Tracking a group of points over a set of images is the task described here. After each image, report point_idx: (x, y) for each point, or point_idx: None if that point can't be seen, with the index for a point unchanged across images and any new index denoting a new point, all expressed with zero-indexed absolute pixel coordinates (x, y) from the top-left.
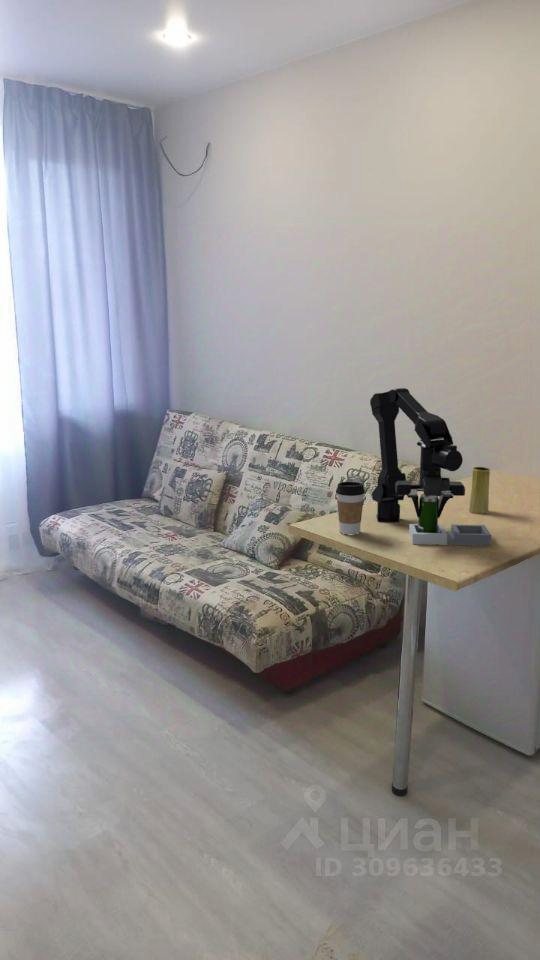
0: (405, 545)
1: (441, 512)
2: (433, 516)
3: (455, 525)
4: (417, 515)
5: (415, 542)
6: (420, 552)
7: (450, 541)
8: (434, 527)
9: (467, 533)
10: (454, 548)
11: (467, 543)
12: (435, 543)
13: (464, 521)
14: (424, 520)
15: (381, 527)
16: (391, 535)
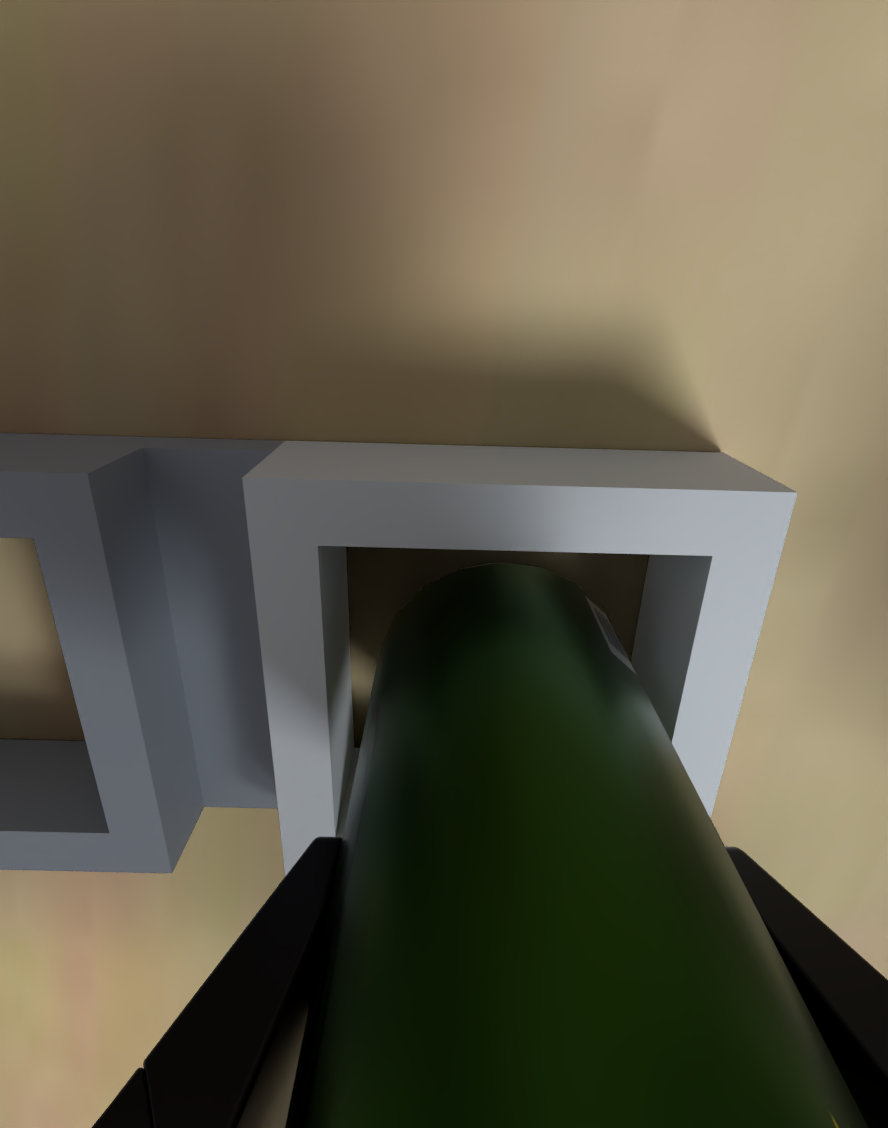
0: (831, 402)
1: (245, 931)
2: (458, 780)
3: (119, 843)
4: (768, 876)
5: (695, 457)
6: (721, 64)
7: (224, 448)
8: (427, 649)
9: (24, 758)
10: (190, 289)
11: (5, 437)
12: (430, 445)
13: (90, 1057)
14: (634, 724)
15: (863, 933)
16: (859, 739)
